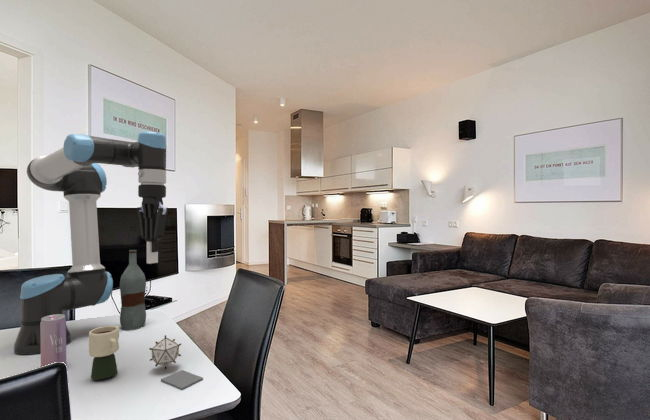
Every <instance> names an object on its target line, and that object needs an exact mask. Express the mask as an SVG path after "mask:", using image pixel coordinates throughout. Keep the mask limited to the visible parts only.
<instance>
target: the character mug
mask: <svg viewBox="0 0 650 420" xmlns="http://www.w3.org/2000/svg"><path fill="white" fill-rule="evenodd" d="M119 338H120V327H119V326H117V325H106V326H101V327H96V328H92V329H91V330H90V331H89V332H88V356H90V357H91V358H92V357H93V359H92V365H91V371H90V372H91V374H90V378H91V380H94V381H99V380H102V379H109V378H111V377H114V376H116V375H117V374H118V365H117V359H116V355H115V354H116V353H117V351H118V350H119V349H120V344H119Z"/></svg>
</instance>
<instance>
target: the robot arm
mask: <svg viewBox="0 0 650 420" xmlns="http://www.w3.org/2000/svg"><path fill="white" fill-rule="evenodd" d="M100 164H103V165H116V166H121V167H124V168H137V167H138V172H137V175H138V180H137V181H138V183H139V185H138V186H137V188H138V191H137V192H138V193H137V195H138V197H139V198H142V201H141V206H140V207H137V208H136V212H137V214H138V221H139V228H140V237H141V239H144V241H145V243H146V245H145V246H146V264H147V265H148V264H149V265H152V264H158V263H159V242H160V240H163V239H164V235H165V230H166V229H165V228H166V224H167V223H166V222H167V216H168V213H169V211H170V210H169V207H165V206H164V202H163V199H164V198H166V197H167V186H166V185H165V184H167V169H166V168H167V142H166V136H165V135H164V133H161V132H157V131H141V132H139V133H138V137H137V141H135V142H134V141H126V140H119V139H111V138H105V137H100V136H93V135H87V134H83V133H81V134H79V133H71V134H68V135H67V136H66V138H65V139H64V142H63V147H61V148H60V149H58V150H56V151H54V152H53V153H50V154H48V155H39V156H37V157H35V158H34V159H32V160H31V161H30V162H29V164H28V165H27V167H26V174H27V178H28V179H29V181H30V182H31V183H32V184H34V185H35V186H37V187H38V188H40V189H43V190H46V191H50V192H63V198H64V199H65V200H66V201H67V202H68V208H69V227H70V242H71V243H70V245H71V260H72V261H71V263H72V266H71V267H70V269H69V270H68V271H67V277H65V275H64V274H62V273H53V274H47V275H46V274H45V275H42V276H37V277H33V278H31V279H28V280H26V281H24V282H23V283H22V285H21V289H20V295H19V298H20V328H19V331H18V334H17V337H16V339H15V341H14V344H13V349H14V350H13V351H14V353H15V354H17V355H35V354H36V355H37V354H41V337H40V323H41V319H42V318H43V317H46V316H50V315H56V314H64V315H65V312H66V311H70V310H77V309H81V308H85V307H89V306H91V307H94V306H96V305H100V304H102V303H103V304H104V303H105V302H107V301H108V300H109V298H110V297H111V295H112V291H113V287H114V280H113V277H112V274H111V273H110V272H109V271H107V270H106V267H105V266H104V265H103V264H101V258H100V242H99V241H100V239H99V238H100V237H99V226H98V225H99V224H98V206H97V201H98V199H100V198H101V196H102V195H101V193H104V192H105V190H106V189H107V185H108V183H107V176H106V175H107V174H106V172H105V170H104V169H103V167H102V166H101V165H100ZM71 340H72V339H71V332H70V330H69V328H68V325H67V324H66V346H67V345H69V344H70V343H71V342H72V341H71Z"/></svg>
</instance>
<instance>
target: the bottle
mask: <svg viewBox="0 0 650 420" xmlns="http://www.w3.org/2000/svg"><path fill="white" fill-rule="evenodd" d="M128 254H129V255H128V265H127V267H126V268H125V269H124V271H123V273H122V274H121V276H120V281H119V293H120V301H121V307H120V315H119V323H120V327H121V330H123V331H135V330H138V329H141V327H142V328H143V327H145V326H146V325H145V324H146V321H147V320H146V319H147V310H146V304H145V303H146V302H145V299H146V298H145V297H146V287H147V282H146V276H145V273H144V272H143V270H142V269H141V267H140V266H139V265H138V263H137V260H138V259H137V249H129V250H128Z"/></svg>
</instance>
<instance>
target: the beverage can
mask: <svg viewBox="0 0 650 420" xmlns="http://www.w3.org/2000/svg"><path fill="white" fill-rule="evenodd" d="M66 325H67V318H66V315H65V313H64V314H56V315H50V316H46V317H43V318H42V319H41V323H40V337H41V353H40V368H41V367H42V366H45V365H48V364H51V363H54V362H64V363H65V364H66V365H67V345H66Z"/></svg>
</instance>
